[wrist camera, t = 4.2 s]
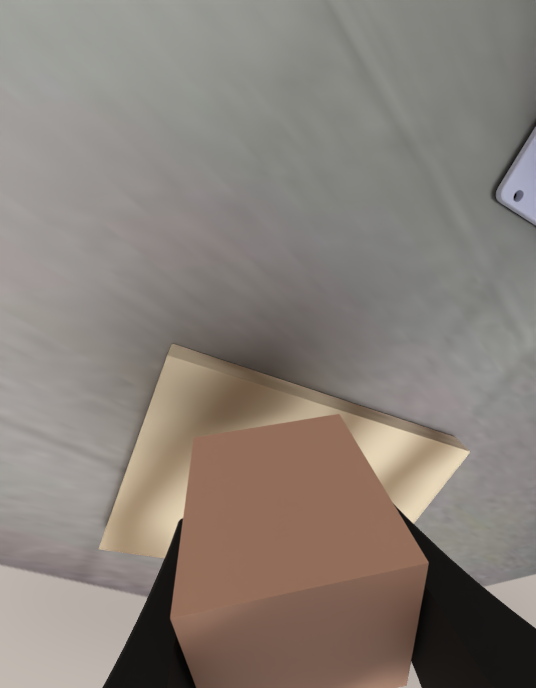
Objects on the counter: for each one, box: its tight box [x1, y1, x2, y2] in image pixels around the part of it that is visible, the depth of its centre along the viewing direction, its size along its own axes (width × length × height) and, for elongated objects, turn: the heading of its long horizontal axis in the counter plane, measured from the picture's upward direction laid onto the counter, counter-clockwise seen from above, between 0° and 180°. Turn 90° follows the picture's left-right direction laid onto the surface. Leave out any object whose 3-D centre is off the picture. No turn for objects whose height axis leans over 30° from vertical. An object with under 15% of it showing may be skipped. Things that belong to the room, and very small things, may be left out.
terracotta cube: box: [170, 414, 429, 688], centre depth 9 cm, size 5×5×5 cm
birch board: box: [99, 344, 470, 558], centre depth 20 cm, size 20×14×2 cm
